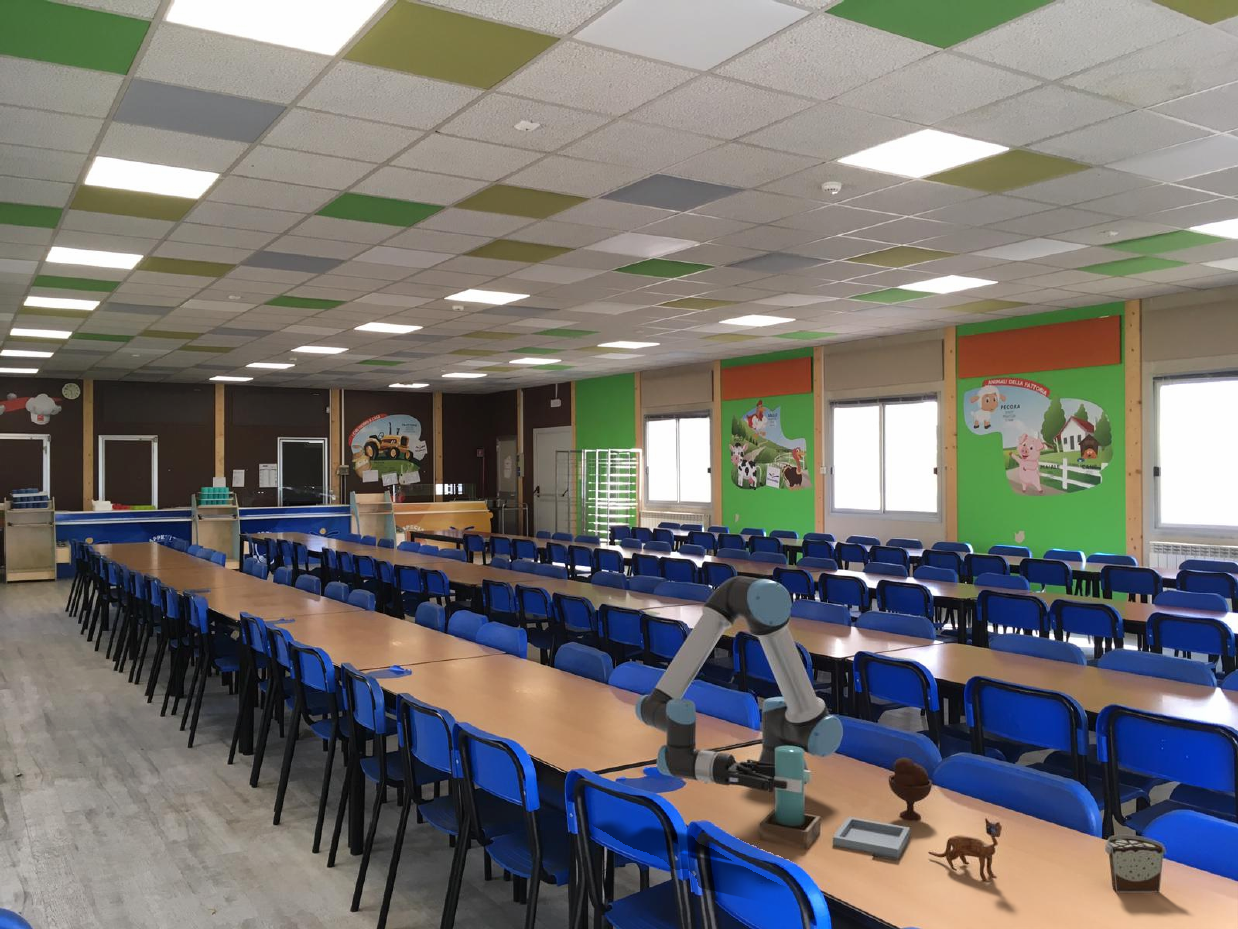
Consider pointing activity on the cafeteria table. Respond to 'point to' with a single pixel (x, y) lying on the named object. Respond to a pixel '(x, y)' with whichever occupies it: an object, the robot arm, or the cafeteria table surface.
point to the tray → (872, 837)
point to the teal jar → (789, 802)
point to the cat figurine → (973, 849)
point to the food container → (1135, 863)
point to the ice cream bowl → (910, 785)
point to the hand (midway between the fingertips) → (805, 781)
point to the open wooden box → (790, 831)
